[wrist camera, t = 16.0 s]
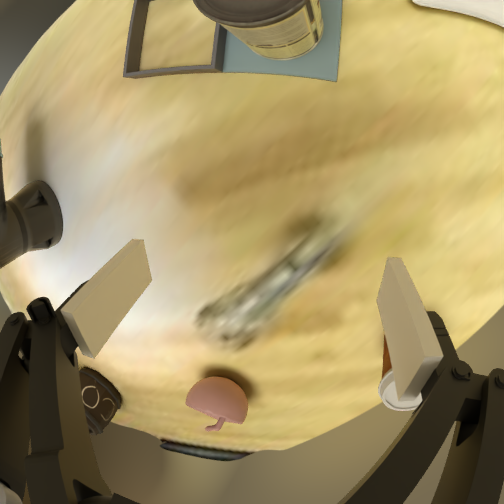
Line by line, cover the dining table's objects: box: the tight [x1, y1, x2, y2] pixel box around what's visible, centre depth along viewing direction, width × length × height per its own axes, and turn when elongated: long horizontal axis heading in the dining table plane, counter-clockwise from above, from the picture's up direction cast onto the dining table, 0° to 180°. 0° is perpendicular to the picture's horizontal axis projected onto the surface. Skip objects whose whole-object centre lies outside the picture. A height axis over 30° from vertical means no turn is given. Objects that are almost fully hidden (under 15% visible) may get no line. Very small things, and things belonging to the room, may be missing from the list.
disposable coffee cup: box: [378, 335, 422, 411], centre depth 34 cm, size 10×10×12 cm
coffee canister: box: [79, 368, 121, 435], centre depth 68 cm, size 18×18×16 cm
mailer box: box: [123, 0, 342, 82], centre depth 27 cm, size 28×14×3 cm, turn 85°
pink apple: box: [186, 377, 248, 431], centre depth 50 cm, size 12×12×12 cm
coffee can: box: [193, 0, 324, 61], centre depth 20 cm, size 10×10×14 cm
